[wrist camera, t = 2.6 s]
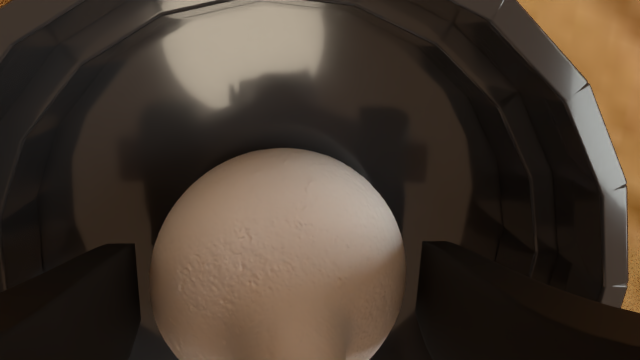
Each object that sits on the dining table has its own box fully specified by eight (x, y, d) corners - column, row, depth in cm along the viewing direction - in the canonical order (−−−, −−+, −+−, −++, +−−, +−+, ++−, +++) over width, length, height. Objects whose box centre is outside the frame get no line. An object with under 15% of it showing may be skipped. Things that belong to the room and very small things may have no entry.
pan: (630, 210, 15) (757, 271, 11) (304, 517, 17) (313, 656, 13) (244, -200, 11) (228, -331, 7) (-113, 275, 13) (-272, 374, 9)
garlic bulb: (221, 96, 12) (137, 197, 5) (428, 193, 13) (631, 397, 6) (134, 297, 14) (-44, 632, 6) (329, 367, 15) (388, 716, 7)
